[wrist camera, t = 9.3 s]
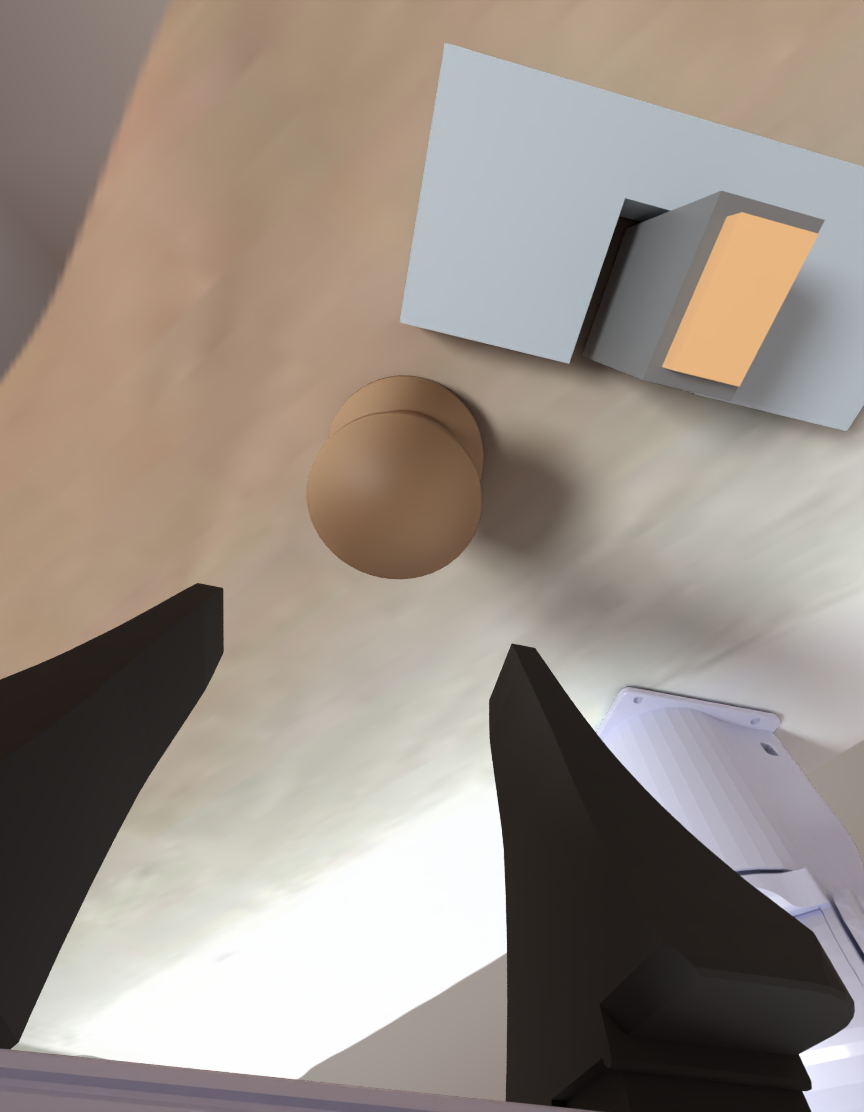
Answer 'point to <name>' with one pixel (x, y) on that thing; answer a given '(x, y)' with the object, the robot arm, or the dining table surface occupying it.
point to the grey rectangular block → (699, 292)
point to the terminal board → (591, 216)
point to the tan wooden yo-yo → (398, 479)
